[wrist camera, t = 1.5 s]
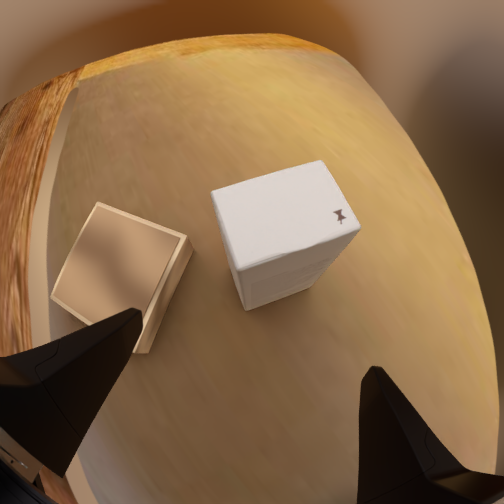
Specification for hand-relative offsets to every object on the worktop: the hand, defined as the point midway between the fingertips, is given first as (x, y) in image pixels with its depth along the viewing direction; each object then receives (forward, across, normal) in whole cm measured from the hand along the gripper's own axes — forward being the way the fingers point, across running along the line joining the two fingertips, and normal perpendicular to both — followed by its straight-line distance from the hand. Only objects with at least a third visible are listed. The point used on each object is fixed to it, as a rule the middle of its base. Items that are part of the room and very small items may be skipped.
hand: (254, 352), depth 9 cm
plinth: (+11, +13, +7) cm, 18 cm away
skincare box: (+13, 0, +4) cm, 14 cm away
